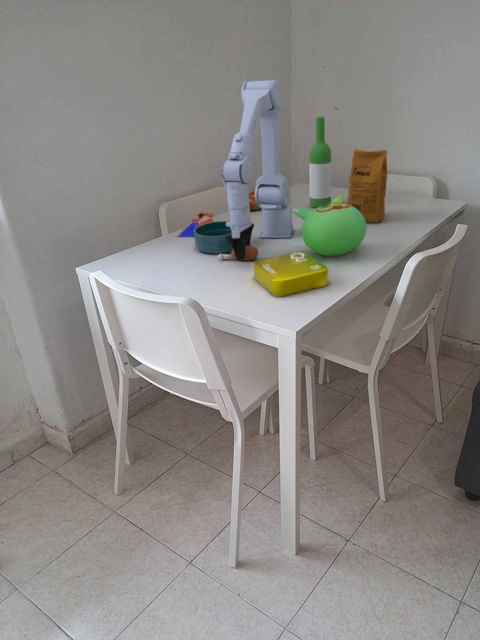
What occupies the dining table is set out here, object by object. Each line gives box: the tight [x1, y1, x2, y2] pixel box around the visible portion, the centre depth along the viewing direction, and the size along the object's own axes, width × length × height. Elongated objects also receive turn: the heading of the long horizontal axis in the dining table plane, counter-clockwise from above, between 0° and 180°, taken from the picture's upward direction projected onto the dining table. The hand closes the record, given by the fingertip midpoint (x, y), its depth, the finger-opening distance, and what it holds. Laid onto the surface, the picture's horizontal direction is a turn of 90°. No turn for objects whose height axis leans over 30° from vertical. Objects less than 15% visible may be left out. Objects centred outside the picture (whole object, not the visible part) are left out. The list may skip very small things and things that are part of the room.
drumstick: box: [217, 245, 259, 261], centre depth 140 cm, size 12×4×4 cm, turn 81°
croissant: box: [249, 189, 262, 211], centre depth 187 cm, size 21×10×8 cm, turn 141°
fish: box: [177, 210, 214, 238], centre depth 166 cm, size 13×5×9 cm
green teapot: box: [292, 194, 367, 257], centre depth 137 cm, size 18×17×15 cm
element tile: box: [253, 251, 329, 297], centre depth 125 cm, size 15×15×5 cm
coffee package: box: [346, 148, 388, 224], centre depth 161 cm, size 10×12×22 cm
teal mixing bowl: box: [194, 220, 233, 255], centre depth 151 cm, size 15×15×6 cm
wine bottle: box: [308, 116, 332, 209], centre depth 176 cm, size 8×8×30 cm
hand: (243, 254), depth 140 cm, fingers open, 7 cm apart
